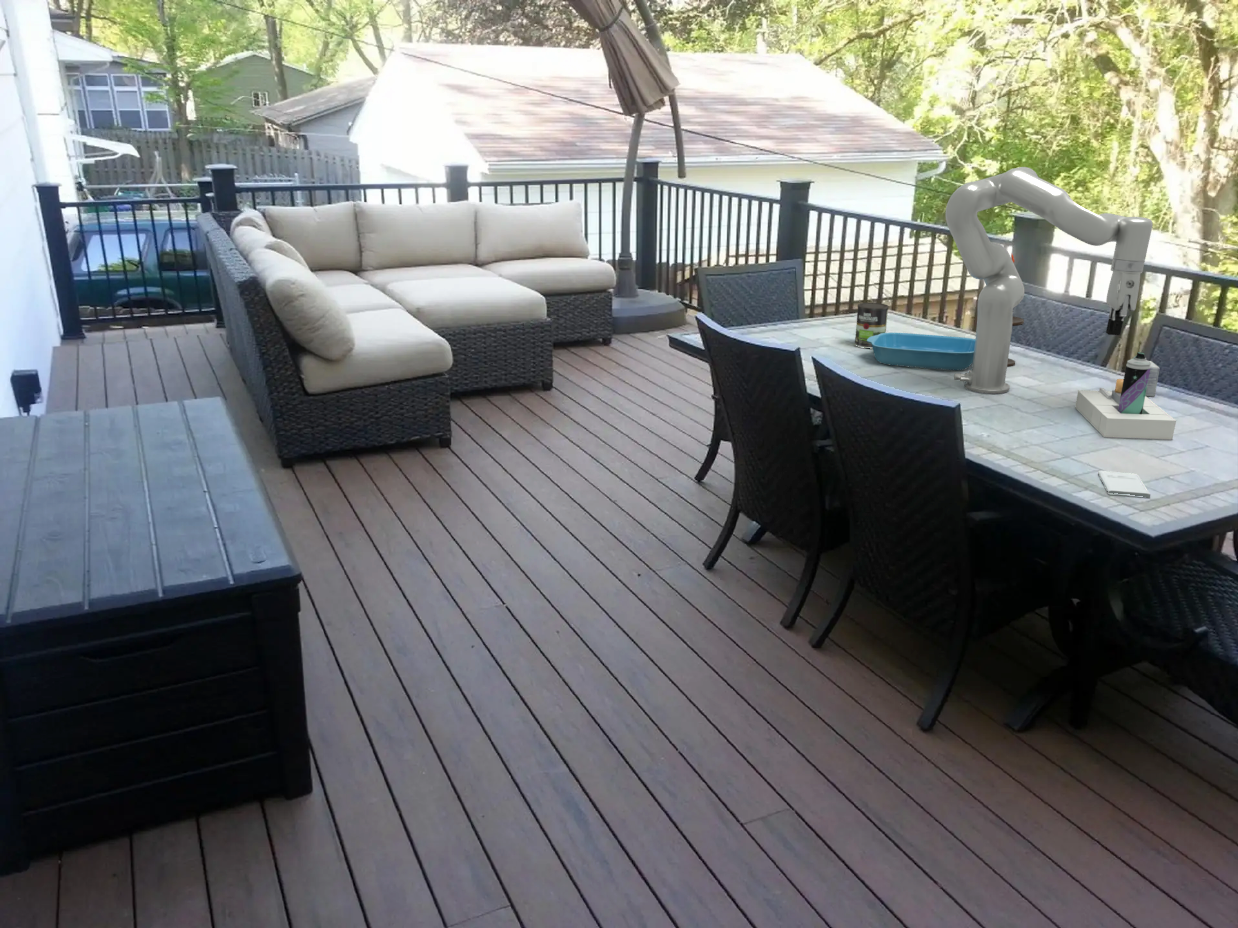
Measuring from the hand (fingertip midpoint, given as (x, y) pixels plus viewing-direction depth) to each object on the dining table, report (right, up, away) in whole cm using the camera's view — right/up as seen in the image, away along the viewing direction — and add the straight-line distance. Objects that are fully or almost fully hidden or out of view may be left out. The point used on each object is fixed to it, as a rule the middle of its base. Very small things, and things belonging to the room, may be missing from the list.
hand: (1112, 334), depth 259 cm
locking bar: (-1, -19, -6) cm, 20 cm away
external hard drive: (-22, -41, -47) cm, 66 cm away
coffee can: (-46, +6, +75) cm, 88 cm away
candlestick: (-10, -3, +51) cm, 52 cm away
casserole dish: (-34, -2, +54) cm, 64 cm away
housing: (-1, -24, -7) cm, 25 cm away
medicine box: (+18, -15, +18) cm, 30 cm away
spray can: (-2, -26, -11) cm, 28 cm away
